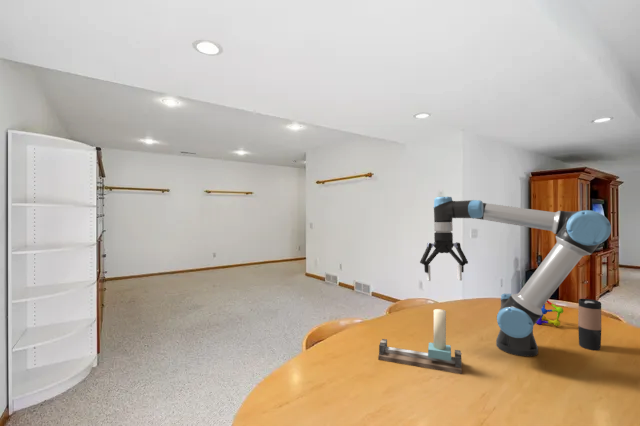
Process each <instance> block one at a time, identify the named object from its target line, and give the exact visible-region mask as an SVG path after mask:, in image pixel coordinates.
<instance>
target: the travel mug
mask: <svg viewBox="0 0 640 426" xmlns="http://www.w3.org/2000/svg"><path fill="white" fill-rule="evenodd" d="M577 312H578V314H577V316H578V318H577V319H578V321H577V325H578V328H577V329H578V330H577V331H578V332H577V333H578V345H579V347H580V348H583V349H585V350H589V351H598V352H599V351H600V350H601V347H602V346H601V345H602V344H601V343H602V302H601V301H599V300H596V299H590V298H579V299H578V311H577Z"/></svg>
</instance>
